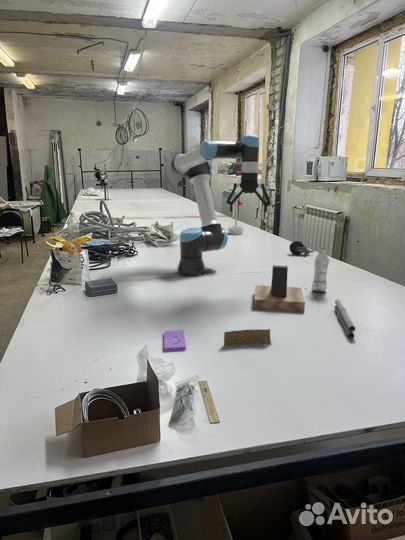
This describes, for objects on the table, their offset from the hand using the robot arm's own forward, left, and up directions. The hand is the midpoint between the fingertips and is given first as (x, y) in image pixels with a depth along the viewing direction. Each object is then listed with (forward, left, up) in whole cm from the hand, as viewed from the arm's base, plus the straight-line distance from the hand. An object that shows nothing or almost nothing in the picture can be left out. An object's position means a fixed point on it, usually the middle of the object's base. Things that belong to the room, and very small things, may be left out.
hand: (247, 219), depth 171 cm
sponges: (-20, -64, -32) cm, 75 cm away
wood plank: (+4, -62, -32) cm, 70 cm away
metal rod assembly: (+38, -39, -32) cm, 64 cm away
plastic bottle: (+34, -5, -32) cm, 47 cm away
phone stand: (+15, -22, -28) cm, 39 cm away
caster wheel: (+32, +64, -32) cm, 78 cm away
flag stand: (-15, +128, -32) cm, 133 cm away
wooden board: (+15, -22, -32) cm, 41 cm away
